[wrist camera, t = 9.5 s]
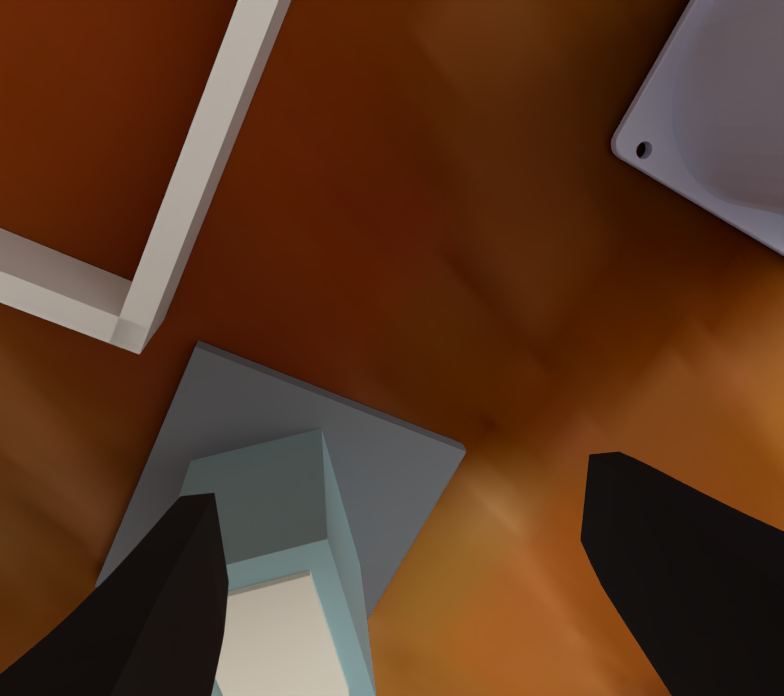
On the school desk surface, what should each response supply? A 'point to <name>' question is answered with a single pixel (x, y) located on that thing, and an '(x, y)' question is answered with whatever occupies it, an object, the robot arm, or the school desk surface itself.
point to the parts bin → (174, 220)
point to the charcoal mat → (287, 418)
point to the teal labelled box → (286, 572)
